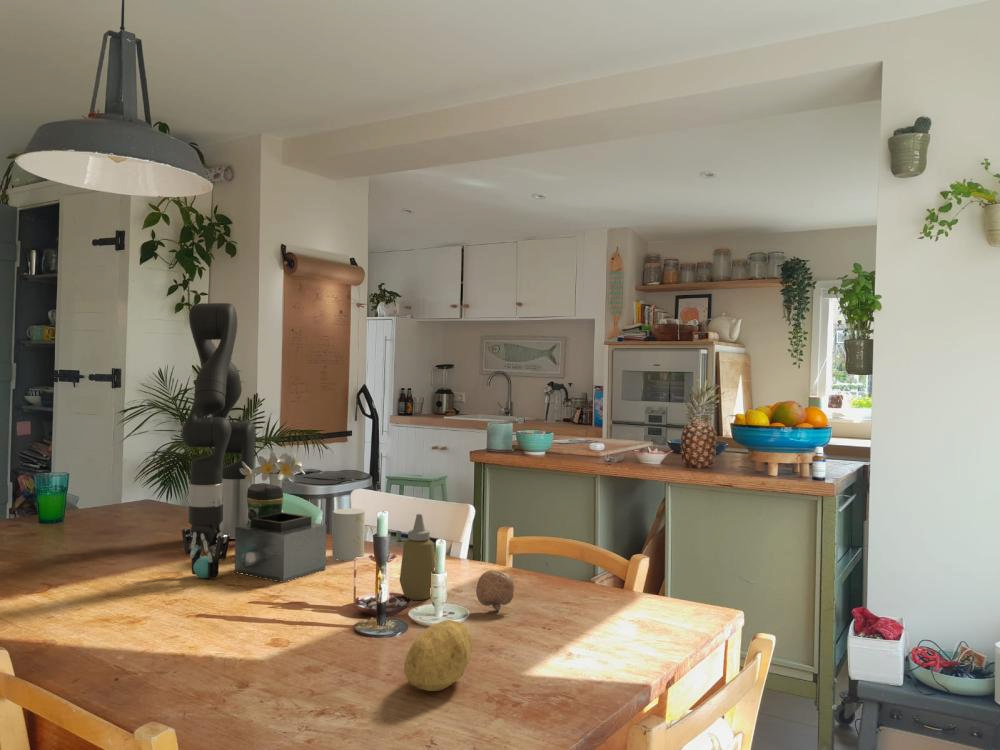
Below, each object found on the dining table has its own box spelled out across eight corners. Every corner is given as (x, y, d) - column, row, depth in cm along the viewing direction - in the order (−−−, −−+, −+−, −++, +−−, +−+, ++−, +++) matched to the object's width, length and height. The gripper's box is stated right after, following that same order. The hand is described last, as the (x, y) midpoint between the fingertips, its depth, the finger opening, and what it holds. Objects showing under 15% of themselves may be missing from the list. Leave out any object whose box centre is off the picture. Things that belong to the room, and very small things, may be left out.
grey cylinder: (360, 561, 201) (361, 514, 201) (329, 560, 201) (329, 513, 201) (366, 553, 209) (367, 508, 209) (336, 552, 210) (337, 508, 209)
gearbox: (221, 576, 184) (222, 521, 184) (277, 560, 200) (278, 509, 200) (270, 586, 176) (271, 529, 176) (325, 569, 192) (326, 516, 192)
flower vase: (231, 542, 220) (233, 452, 220) (287, 532, 234) (288, 448, 234) (258, 549, 212) (260, 456, 211) (314, 538, 226) (315, 452, 226)
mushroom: (518, 610, 163) (519, 571, 163) (502, 617, 158) (503, 578, 158) (489, 603, 167) (489, 566, 167) (472, 610, 162) (472, 572, 162)
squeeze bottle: (430, 603, 166) (431, 518, 166) (394, 600, 168) (395, 516, 168) (440, 593, 174) (442, 512, 174) (406, 590, 176) (407, 510, 176)
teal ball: (188, 578, 182) (188, 557, 182) (206, 574, 186) (206, 553, 186) (203, 582, 179) (203, 560, 179) (220, 577, 184) (221, 555, 184)
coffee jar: (287, 555, 206) (288, 484, 206) (260, 560, 200) (261, 487, 200) (268, 548, 213) (269, 480, 213) (241, 553, 207) (242, 483, 207)
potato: (489, 680, 126) (490, 621, 126) (423, 709, 115) (424, 644, 115) (445, 664, 133) (446, 608, 133) (379, 689, 122) (380, 628, 122)
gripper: (171, 501, 183) (170, 574, 183) (214, 508, 176) (212, 584, 176) (198, 497, 189) (197, 567, 190) (240, 503, 182) (239, 576, 182)
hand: (204, 575), depth 183 cm, fingers closed on teal ball, 5 cm apart
